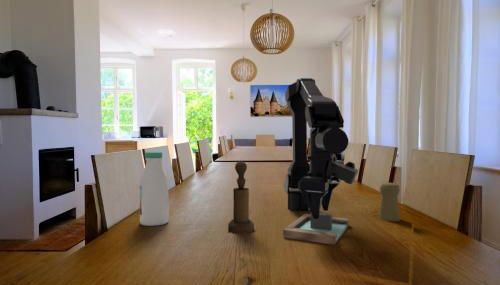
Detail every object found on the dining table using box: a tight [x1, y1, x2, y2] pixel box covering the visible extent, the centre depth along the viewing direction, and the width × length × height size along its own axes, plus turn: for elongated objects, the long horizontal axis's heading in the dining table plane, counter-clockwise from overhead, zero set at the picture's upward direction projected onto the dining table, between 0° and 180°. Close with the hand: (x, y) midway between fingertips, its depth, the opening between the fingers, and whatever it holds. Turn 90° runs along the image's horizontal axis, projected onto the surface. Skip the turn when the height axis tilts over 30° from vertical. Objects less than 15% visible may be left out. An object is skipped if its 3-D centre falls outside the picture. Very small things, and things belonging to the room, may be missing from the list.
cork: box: [378, 182, 401, 222], centre depth 96 cm, size 6×6×11 cm
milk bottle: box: [139, 151, 170, 227], centre depth 94 cm, size 8×8×20 cm
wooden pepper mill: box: [227, 161, 255, 234], centre depth 85 cm, size 7×6×18 cm
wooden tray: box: [282, 213, 350, 246], centre depth 84 cm, size 12×17×3 cm
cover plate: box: [299, 212, 348, 242], centre depth 83 cm, size 10×13×4 cm
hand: (321, 214), depth 83 cm, fingers open, 9 cm apart
